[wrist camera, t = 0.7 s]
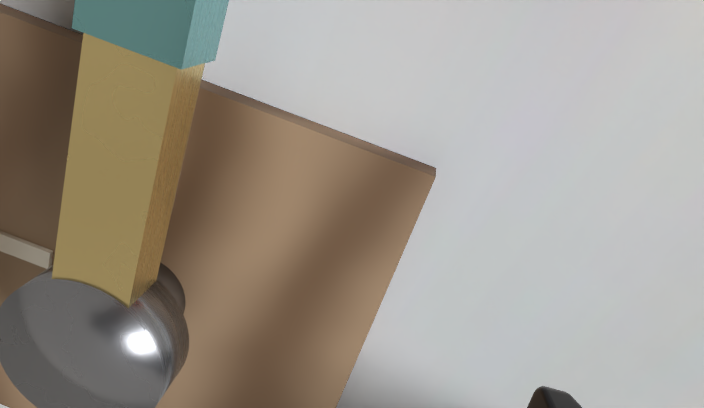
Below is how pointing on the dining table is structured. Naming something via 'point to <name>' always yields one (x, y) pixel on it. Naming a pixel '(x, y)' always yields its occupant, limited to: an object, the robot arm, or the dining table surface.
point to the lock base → (223, 229)
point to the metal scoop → (115, 213)
